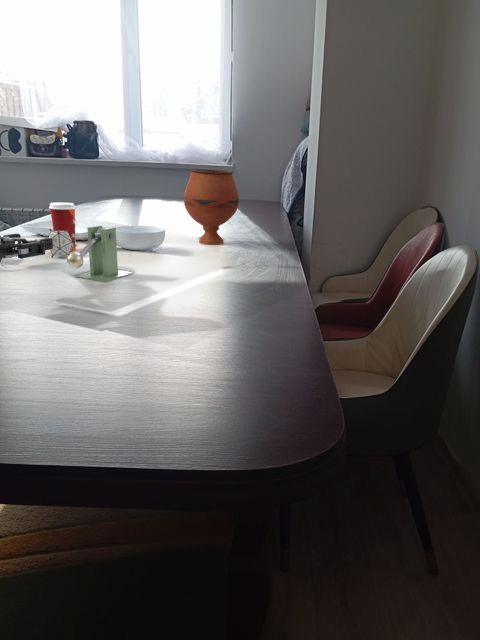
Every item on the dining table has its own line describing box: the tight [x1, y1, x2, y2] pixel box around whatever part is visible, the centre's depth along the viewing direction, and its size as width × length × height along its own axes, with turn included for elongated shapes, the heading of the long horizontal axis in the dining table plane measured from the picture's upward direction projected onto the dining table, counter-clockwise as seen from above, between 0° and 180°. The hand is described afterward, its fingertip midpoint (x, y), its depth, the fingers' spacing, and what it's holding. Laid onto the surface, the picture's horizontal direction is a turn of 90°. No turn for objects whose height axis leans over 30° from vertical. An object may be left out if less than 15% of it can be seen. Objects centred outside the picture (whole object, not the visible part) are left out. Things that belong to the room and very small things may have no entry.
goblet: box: [183, 168, 240, 246], centre depth 182 cm, size 19×19×25 cm
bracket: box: [74, 225, 133, 283], centre depth 126 cm, size 11×9×13 cm
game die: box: [47, 228, 77, 258], centre depth 149 cm, size 9×8×10 cm
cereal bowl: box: [115, 225, 166, 253], centre depth 164 cm, size 17×17×7 cm
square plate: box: [19, 218, 131, 241], centre depth 186 cm, size 27×27×4 cm
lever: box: [66, 227, 104, 270], centre depth 121 cm, size 14×4×4 cm, turn 158°
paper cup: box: [48, 201, 77, 252], centre depth 158 cm, size 8×8×14 cm
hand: (35, 240), depth 106 cm, fingers open, 8 cm apart
